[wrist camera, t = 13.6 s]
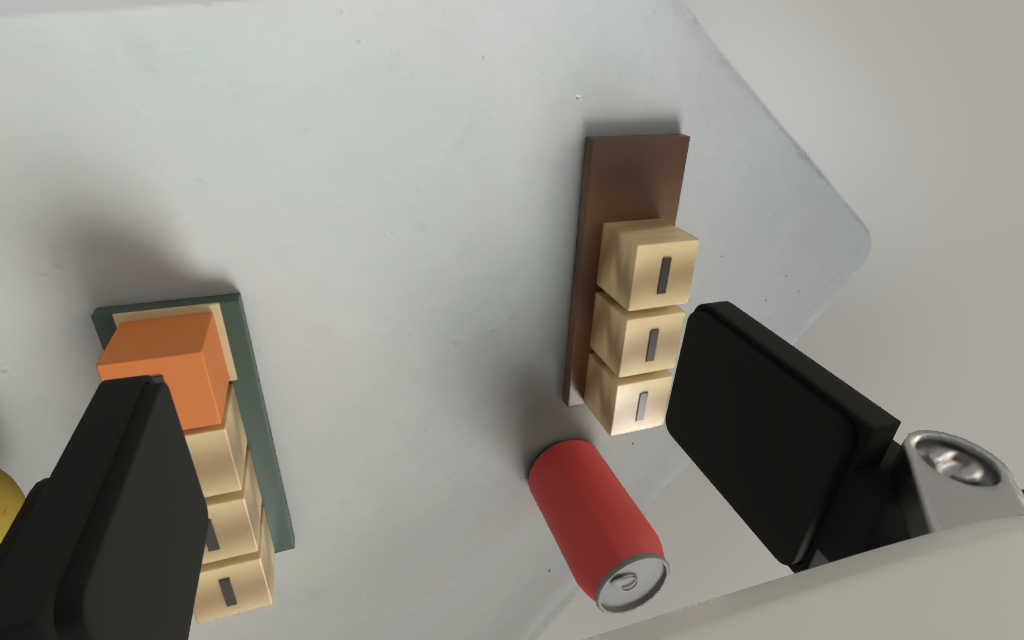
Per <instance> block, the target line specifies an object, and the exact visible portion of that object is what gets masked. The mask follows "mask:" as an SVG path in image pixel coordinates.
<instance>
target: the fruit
mask: <svg viewBox="0 0 1024 640" xmlns="http://www.w3.org/2000/svg"><path fill="white" fill-rule="evenodd" d="M25 499H26V498H25V496H24V494H23V492H22V491H21V489H20V488H19V486H18V485H17V483H16V482H15V481H14V480H13V478H12V477H11V476H9V475H8V474H7V473H5V472H4V471H3V470H1V469H0V544H1V542H2V540H3V538H4V536H5V535H6V533H7V531H8V529H9V528H10V526H11V524H12V522H13V520H14V519H15V517H16V515H17V513H18V512H19V510H20V508H21V506H22V504H23V503H24V501H25Z"/></svg>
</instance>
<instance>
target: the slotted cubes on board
mask: <svg viewBox="0 0 1024 640" xmlns="http://www.w3.org/2000/svg"><path fill="white" fill-rule="evenodd" d="M689 141H690V136H687V135H683V134H664V135H632V136H600V137H586V144H585V155H584V167H583V178H582V189H581V201H580V212H579V223H578V235H577V246H576V257H575V268H574V280H573V291H572V302H571V314H570V325H569V336H568V348H567V359H566V370H565V382H564V393H563V401H564V403H565V404H566V405H567V407H571V406H577V405H582V404H586V405H587V407H588V408H589V409H590V410H591V412H592V413H593V414H594V416H595V417H596V418H597V420H598V421H599V422H600V424H601V425H602V426H603V427H604V429H605V430H606V431H607V433H608V434H609V435H610V436H615V435H619V434H624V433H628V432H633V431H638V430H642V429H647V428H651V427H656V426H661V425H663V422H664V417H665V412H666V407H667V402H668V397H669V392H670V387H671V382H672V377H673V376H672V374H671V373H670V372H668V371H667V370H666V369H670V368H674V367H675V362H676V356H677V351H678V346H679V341H680V336H681V331H682V326H683V321H684V316H685V311H684V310H682V309H681V308H680V307H678V306H677V305H676V304H683V303H687V301H688V296H689V291H690V286H691V281H692V276H693V271H694V266H695V261H696V255H697V250H698V245H699V239H698V238H697V237H695V236H693V235H691V234H689V233H687V232H685V231H683V230H681V229H680V228H678V227H676V226H675V221H676V216H677V210H678V204H679V198H680V193H681V187H682V181H683V175H684V170H685V164H686V158H687V152H688V146H689Z"/></svg>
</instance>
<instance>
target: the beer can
mask: <svg viewBox="0 0 1024 640" xmlns="http://www.w3.org/2000/svg"><path fill="white" fill-rule="evenodd" d="M528 483H529V487H530V490H531V493H532V495H533V497H534V499H535V501H536V503H537V505H538V507H539V509H540V511H541V513H542V514H543V516H544V518H545V520H546V522H547V524H548V526H549V528H550V530H551V532H552V534H553V536H554V538H555V540H556V542H557V544H558V546H559V548H560V550H561V552H562V554H563V556H564V558H565V560H566V562H567V564H568V566H569V568H570V570H571V572H572V574H573V576H574V578H575V580H576V582H577V584H578V585H579V586H580V587H581V588H582V590H583V591H584V592H585V593H586V594H587V595H588V596H589V597H590V598H592V599H593V600H594V601H595V602H596V604H597V606H598V608H599V609H600V610H601V611H602V612H605V613H608V614H624V613H627V612H631V611H634V610H636V609H638V608H640V607H642V606H643V605H645V604H646V603H648V602H649V601H650V600H652V599H653V598H654V597H655V596H656V595H657V594H658V593H659V592H660V591H661V590H662V588H663V586H664V585H665V583H666V582H667V578H668V575H669V564H668V562H667V561H666V560H665V558H664V553H663V549H662V545H661V542H660V540H659V537H658V536H657V534H656V533H655V531H654V530H653V528H652V527H651V525H650V524H649V523H648V521H647V520H646V518H645V517H644V516H643V514H642V513H641V511H640V510H639V508H638V507H637V506H636V504H635V503H634V501H633V500H632V499H631V497H630V496H629V494H628V493H627V492H626V490H625V489H624V487H623V486H622V484H621V483H620V482H619V480H618V479H617V477H616V476H615V475H614V473H613V472H612V470H611V469H610V468H609V466H608V465H607V463H606V462H605V460H604V459H603V458H602V456H601V455H600V453H599V452H598V451H597V449H596V448H595V446H593V445H592V444H590V443H588V442H586V441H582V440H575V439H573V440H567V441H562V442H560V443H557V444H555V445H552V446H551V447H550V448H548V449H547V450H545V451H544V452H543V453H542V454H541V455H540V456H539V457H538V458H537V459H536V460H535V462H534V464H533V466H532V468H531V470H530V474H529V482H528Z"/></svg>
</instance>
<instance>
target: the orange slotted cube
mask: <svg viewBox="0 0 1024 640" xmlns="http://www.w3.org/2000/svg"><path fill="white" fill-rule="evenodd" d="M96 368H97V371H98V373H99V376H100V378H101V381H104V380H109V379H117V378H125V377H133V376H141V375H149V376H151V378H152V379H153V381H154V383H160V382H165V383H166V384H167V385H168V387H169V389H170V392H171V395H172V398H173V401H174V404H175V408H176V411H177V414H178V417H179V420H180V423H181V426H182V429H183V430H186V429H192V428H198V427H204V426H209V425H215V424H221V423H222V418H223V412H224V407H225V401H226V396H227V390H228V385H229V379H230V377H229V373H228V369H227V366H226V362H225V358H224V354H223V350H222V346H221V342H220V338H219V334H218V330H217V326H216V322H215V318H214V314H213V312H210V313H201V314H192V315H183V316H175V317H166V318H157V319H148V320H139V321H131V322H122V323H120V324H119V326H118V328H117V330H116V331H115V333H114V335H113V337H112V338H111V340H110V342H109V343H108V345H107V347H106V349H105V350H104V352H103V354H102V355H101V357H100V359H99V361H98V362H97V364H96Z"/></svg>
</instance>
